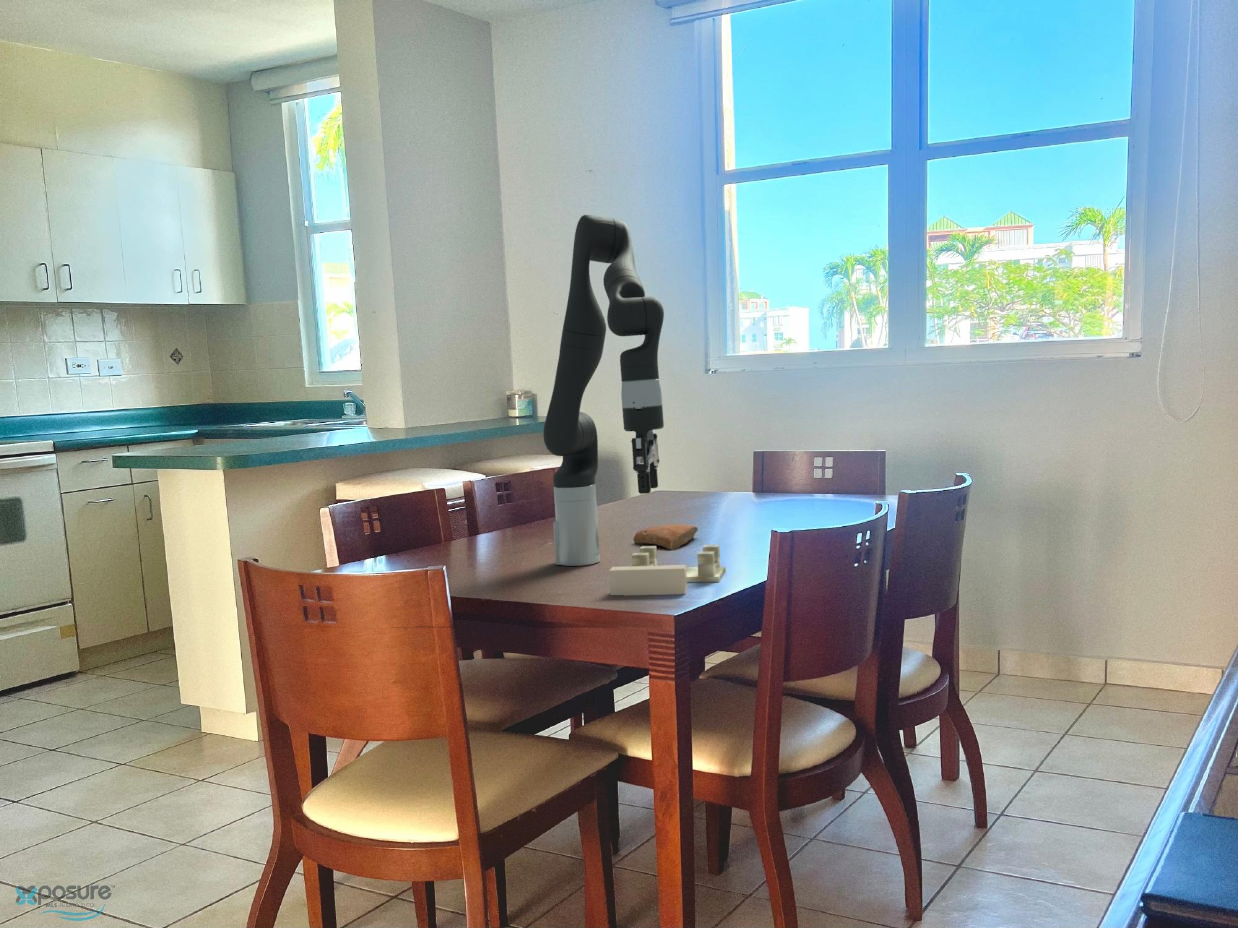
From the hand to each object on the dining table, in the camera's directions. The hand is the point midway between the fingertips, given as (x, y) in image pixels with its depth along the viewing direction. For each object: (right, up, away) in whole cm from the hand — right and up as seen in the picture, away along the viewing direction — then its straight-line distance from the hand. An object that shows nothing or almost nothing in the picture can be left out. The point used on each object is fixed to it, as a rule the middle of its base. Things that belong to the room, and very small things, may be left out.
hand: (648, 490), depth 193 cm
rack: (+6, -18, +12) cm, 22 cm away
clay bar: (0, -19, -1) cm, 19 cm away
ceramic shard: (+8, -14, +53) cm, 56 cm away
